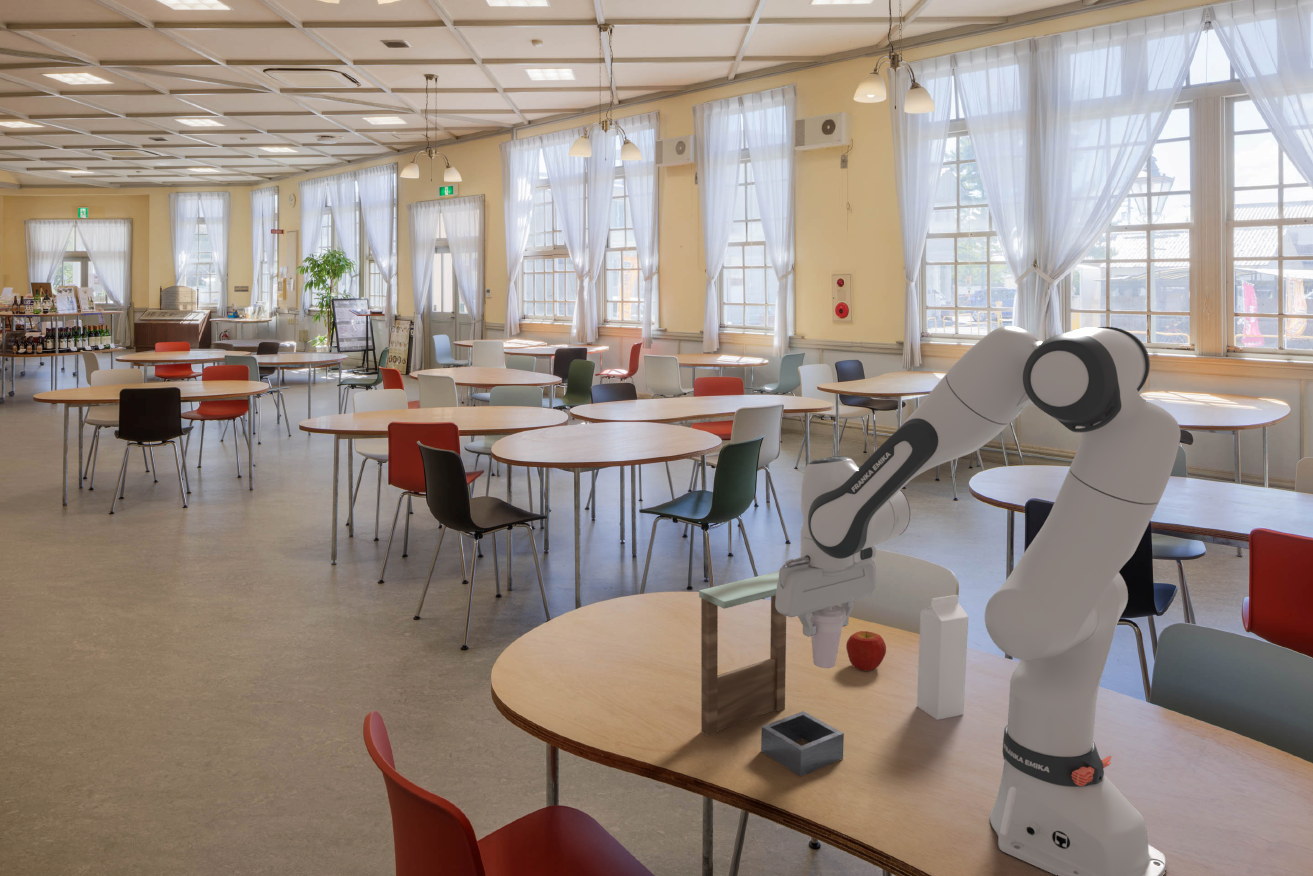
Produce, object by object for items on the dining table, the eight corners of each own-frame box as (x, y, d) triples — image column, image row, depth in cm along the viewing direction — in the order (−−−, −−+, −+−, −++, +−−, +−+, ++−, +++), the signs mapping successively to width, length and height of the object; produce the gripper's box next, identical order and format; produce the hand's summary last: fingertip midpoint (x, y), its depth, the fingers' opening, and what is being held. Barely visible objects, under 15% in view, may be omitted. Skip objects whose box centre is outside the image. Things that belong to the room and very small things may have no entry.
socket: (843, 758, 144) (843, 733, 144) (800, 776, 139) (801, 750, 138) (802, 735, 152) (803, 711, 152) (761, 751, 147) (761, 726, 146)
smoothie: (843, 673, 145) (847, 594, 143) (804, 669, 146) (808, 591, 144) (843, 657, 151) (847, 580, 149) (805, 653, 153) (809, 577, 150)
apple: (843, 660, 184) (844, 624, 183) (880, 660, 183) (881, 625, 182) (849, 675, 176) (850, 639, 175) (888, 676, 176) (890, 639, 175)
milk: (916, 706, 163) (920, 593, 159) (943, 701, 165) (947, 589, 161) (937, 721, 157) (941, 604, 154) (964, 715, 159) (969, 599, 156)
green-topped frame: (805, 718, 158) (808, 580, 154) (723, 749, 148) (724, 601, 144) (779, 704, 164) (781, 570, 160) (699, 732, 154) (699, 590, 149)
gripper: (793, 566, 137) (792, 650, 139) (883, 546, 148) (881, 623, 150) (767, 557, 143) (766, 637, 145) (856, 538, 154) (854, 612, 156)
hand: (825, 630), depth 148 cm, fingers closed on smoothie, 6 cm apart
